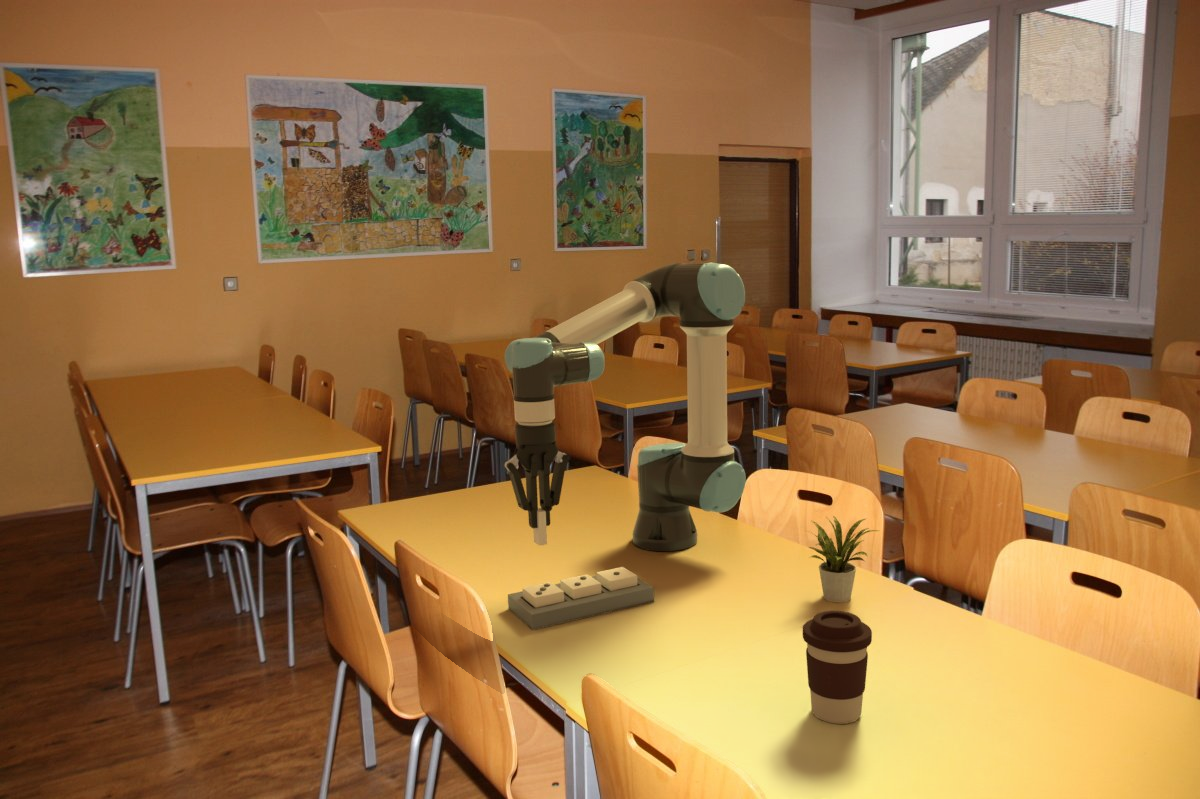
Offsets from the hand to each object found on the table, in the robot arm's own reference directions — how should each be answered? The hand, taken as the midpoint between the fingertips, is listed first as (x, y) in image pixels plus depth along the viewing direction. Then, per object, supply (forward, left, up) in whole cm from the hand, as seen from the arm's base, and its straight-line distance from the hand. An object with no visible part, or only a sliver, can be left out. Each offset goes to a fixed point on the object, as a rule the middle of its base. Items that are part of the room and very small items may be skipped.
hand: (540, 543), depth 185 cm
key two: (-8, 0, -11) cm, 14 cm away
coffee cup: (-22, +59, -15) cm, 64 cm away
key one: (-16, 0, -11) cm, 20 cm away
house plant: (-54, +24, -15) cm, 61 cm away
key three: (0, 0, -11) cm, 11 cm away
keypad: (-8, 0, -14) cm, 16 cm away
